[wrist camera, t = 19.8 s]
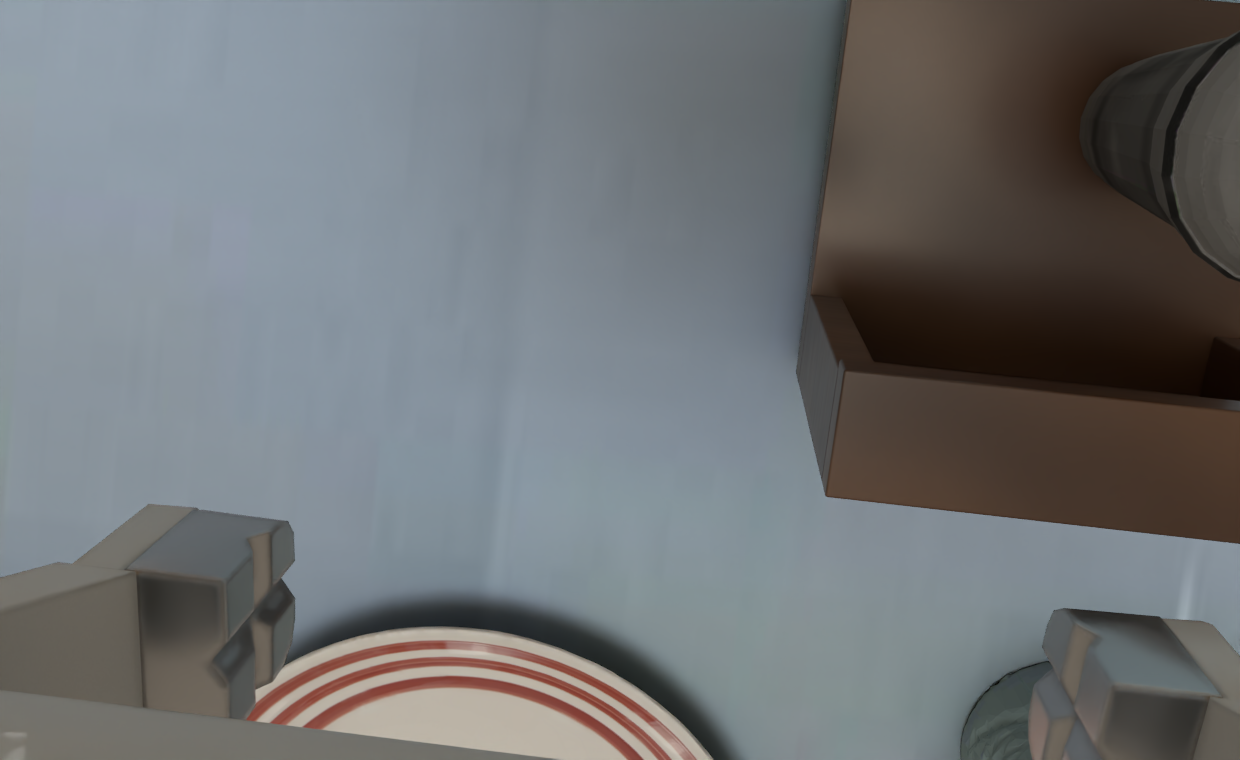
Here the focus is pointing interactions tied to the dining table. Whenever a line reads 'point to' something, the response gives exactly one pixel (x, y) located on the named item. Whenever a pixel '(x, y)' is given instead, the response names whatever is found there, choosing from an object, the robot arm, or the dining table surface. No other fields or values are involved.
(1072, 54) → the shelf
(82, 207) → the dining table surface
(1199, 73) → the beverage cup
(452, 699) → the dinner plate
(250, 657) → the robot arm
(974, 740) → the drinking glass
